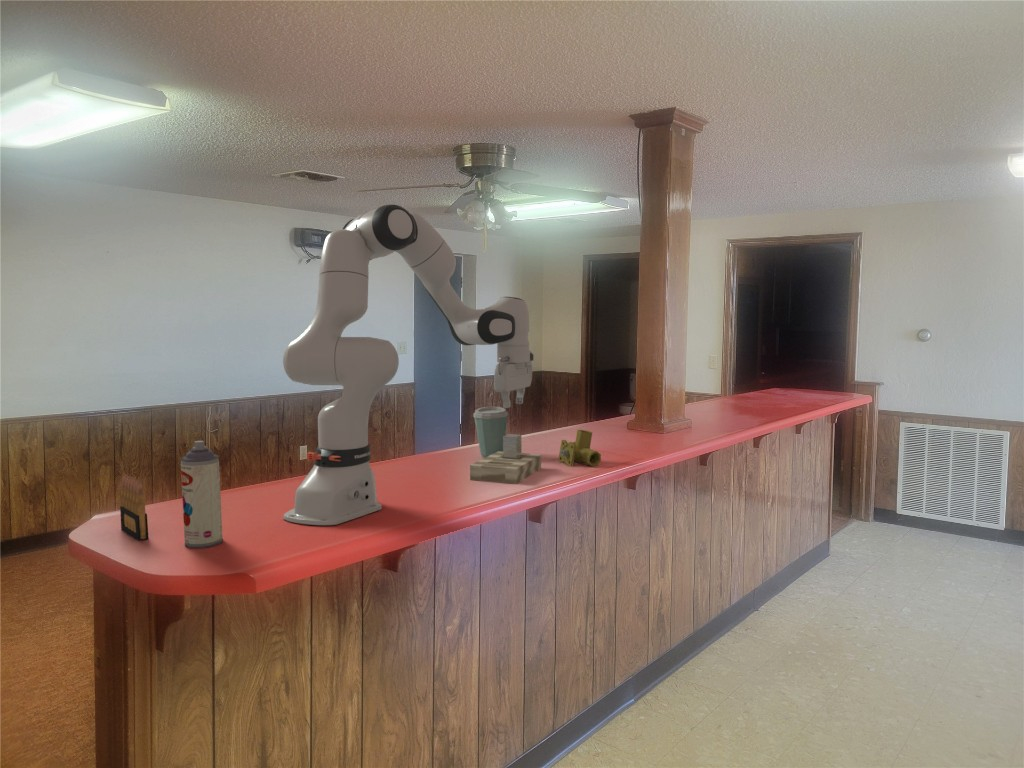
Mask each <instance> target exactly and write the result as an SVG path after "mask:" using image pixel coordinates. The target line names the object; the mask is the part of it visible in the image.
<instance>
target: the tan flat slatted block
mask: <svg viewBox="0 0 1024 768" xmlns="http://www.w3.org/2000/svg"><path fill="white" fill-rule="evenodd" d="M541 469H542V454H540V453H539V454H537V453H528V452H527V453H525V452H521V459H520V460H517V459H504V458H503V452H500V451H498V452H496V453H494V454H492V455H490V456H488V457H486V458H481V459H480V460H478V461H476V462H474V463H471V464H470V465H469V480H470V481H477V482H488V483H489V482H490V483H491V482H492V483H499V484H500V483H501V484H502V483H503V484H512V485H513V484H514V485H517V484H519V483H520V482H522V481H524V480H525V479H526V478H528V477H530V476H531V475H533V474H534V473H536V472H538V471H540V470H541Z"/></svg>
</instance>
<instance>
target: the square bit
mask: <svg viewBox="0 0 1024 768" xmlns="http://www.w3.org/2000/svg"><path fill="white" fill-rule="evenodd" d="M521 453H522V434H515V433H508V434H505V436H503V458H504V459H517V460H520V459H521Z"/></svg>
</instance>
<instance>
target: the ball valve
mask: <svg viewBox="0 0 1024 768" xmlns="http://www.w3.org/2000/svg"><path fill="white" fill-rule="evenodd" d="M592 437H593V431H590V430H584V429H577V430H576V436H575V441H569V442H568V441H567V440H566V439H561V442H560V447H559V448H560V449H559V455H558V460H557V461H558V462H559V463H560V464H561V463H563V464H564V462H565V463H566V465H567V466H568V467H573V466H574V462H576V463H580V464H585V465H587V466H590V467H592V468H593V467H597V466H599V464H600V462H601V461H602V455H601V452H598V451H597V450H594V449H591V443H592Z"/></svg>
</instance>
